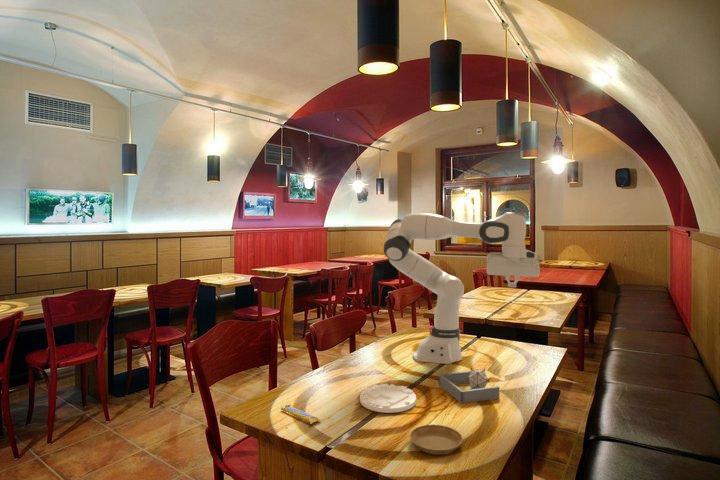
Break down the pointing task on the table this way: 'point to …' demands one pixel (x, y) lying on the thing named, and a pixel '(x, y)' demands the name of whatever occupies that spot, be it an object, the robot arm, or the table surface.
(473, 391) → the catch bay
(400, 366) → the table surface
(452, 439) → the plant saucer
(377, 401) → the embossed medallion
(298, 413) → the candy bar
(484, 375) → the game die
